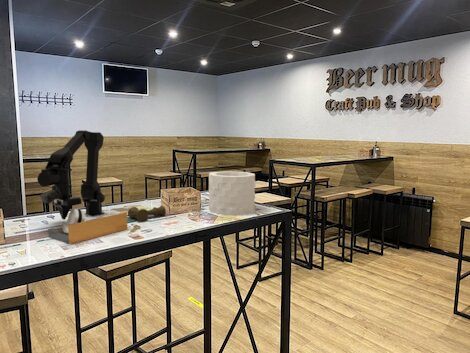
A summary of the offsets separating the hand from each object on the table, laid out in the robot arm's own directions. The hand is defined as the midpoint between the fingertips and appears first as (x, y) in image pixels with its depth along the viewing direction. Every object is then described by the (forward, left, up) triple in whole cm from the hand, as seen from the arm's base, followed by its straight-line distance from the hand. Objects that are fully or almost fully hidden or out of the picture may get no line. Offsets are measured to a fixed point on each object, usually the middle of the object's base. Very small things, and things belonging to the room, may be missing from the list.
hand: (63, 219), depth 153 cm
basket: (-68, +39, -3) cm, 78 cm away
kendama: (-29, +17, -3) cm, 34 cm away
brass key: (-14, +29, -3) cm, 32 cm away
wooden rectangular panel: (0, +17, -3) cm, 18 cm away
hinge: (+2, +10, -3) cm, 11 cm away
